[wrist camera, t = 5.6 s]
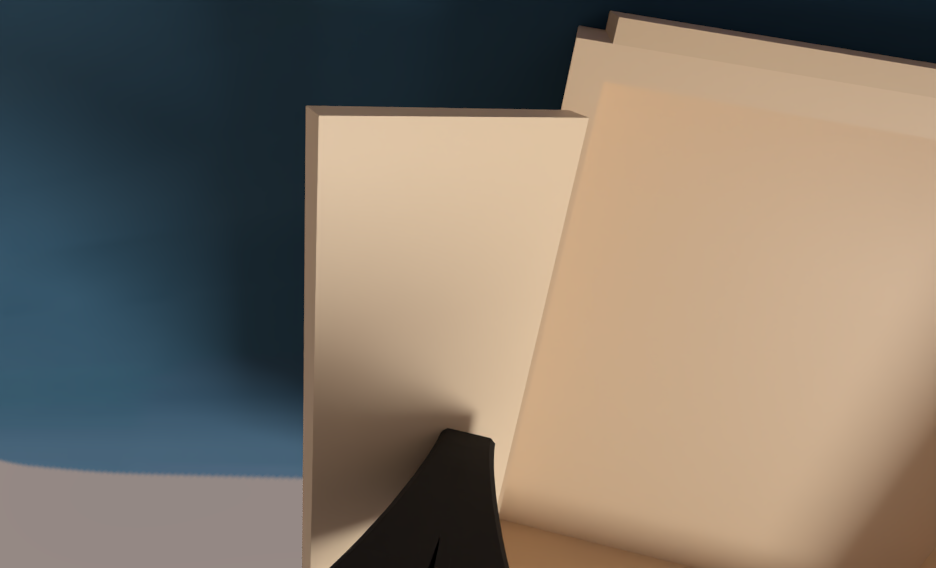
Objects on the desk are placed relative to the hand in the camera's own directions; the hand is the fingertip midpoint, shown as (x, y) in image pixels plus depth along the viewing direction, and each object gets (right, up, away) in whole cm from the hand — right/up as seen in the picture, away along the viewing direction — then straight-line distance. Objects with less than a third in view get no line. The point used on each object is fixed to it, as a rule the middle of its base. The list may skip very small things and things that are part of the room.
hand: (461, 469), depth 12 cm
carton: (+8, +1, +4) cm, 10 cm away
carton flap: (-1, 0, 0) cm, 1 cm away
